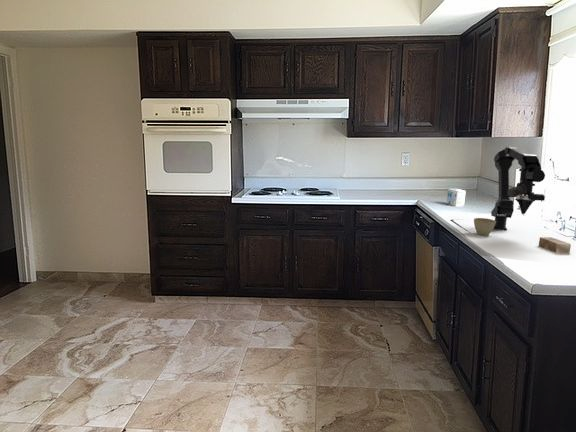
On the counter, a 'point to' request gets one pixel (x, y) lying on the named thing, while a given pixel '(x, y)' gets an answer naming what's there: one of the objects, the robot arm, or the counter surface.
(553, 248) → the walnut block
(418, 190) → the counter surface
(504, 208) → the robot arm
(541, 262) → the counter surface
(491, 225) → the flower pot
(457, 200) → the light bulb box
